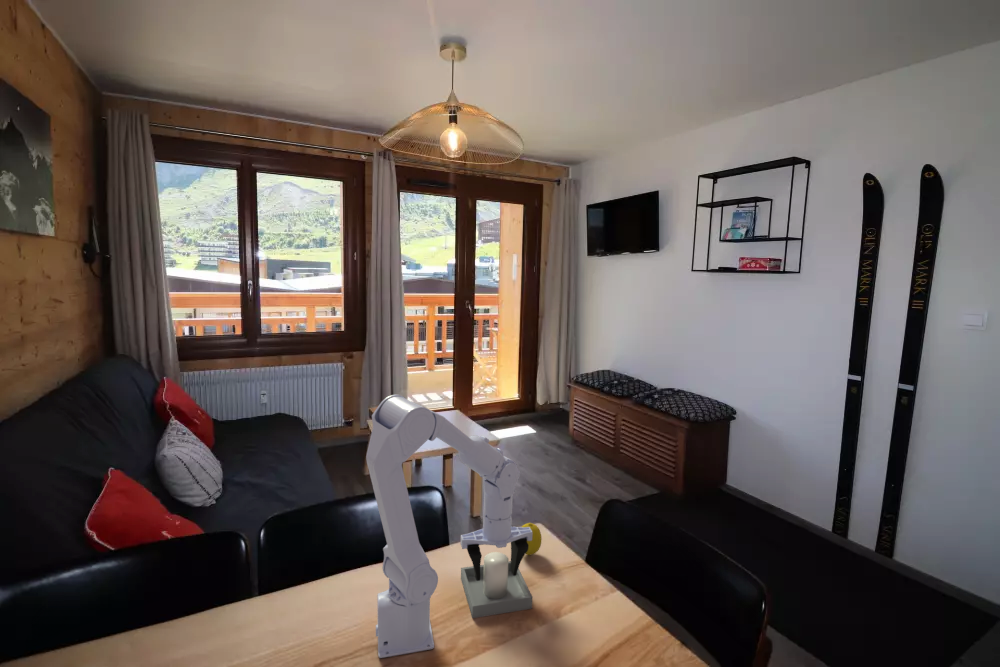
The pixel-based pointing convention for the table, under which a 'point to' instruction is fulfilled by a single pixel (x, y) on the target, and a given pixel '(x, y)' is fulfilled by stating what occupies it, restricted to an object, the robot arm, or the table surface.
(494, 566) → the capsule
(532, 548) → the lemon
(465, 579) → the tray
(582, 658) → the table surface
